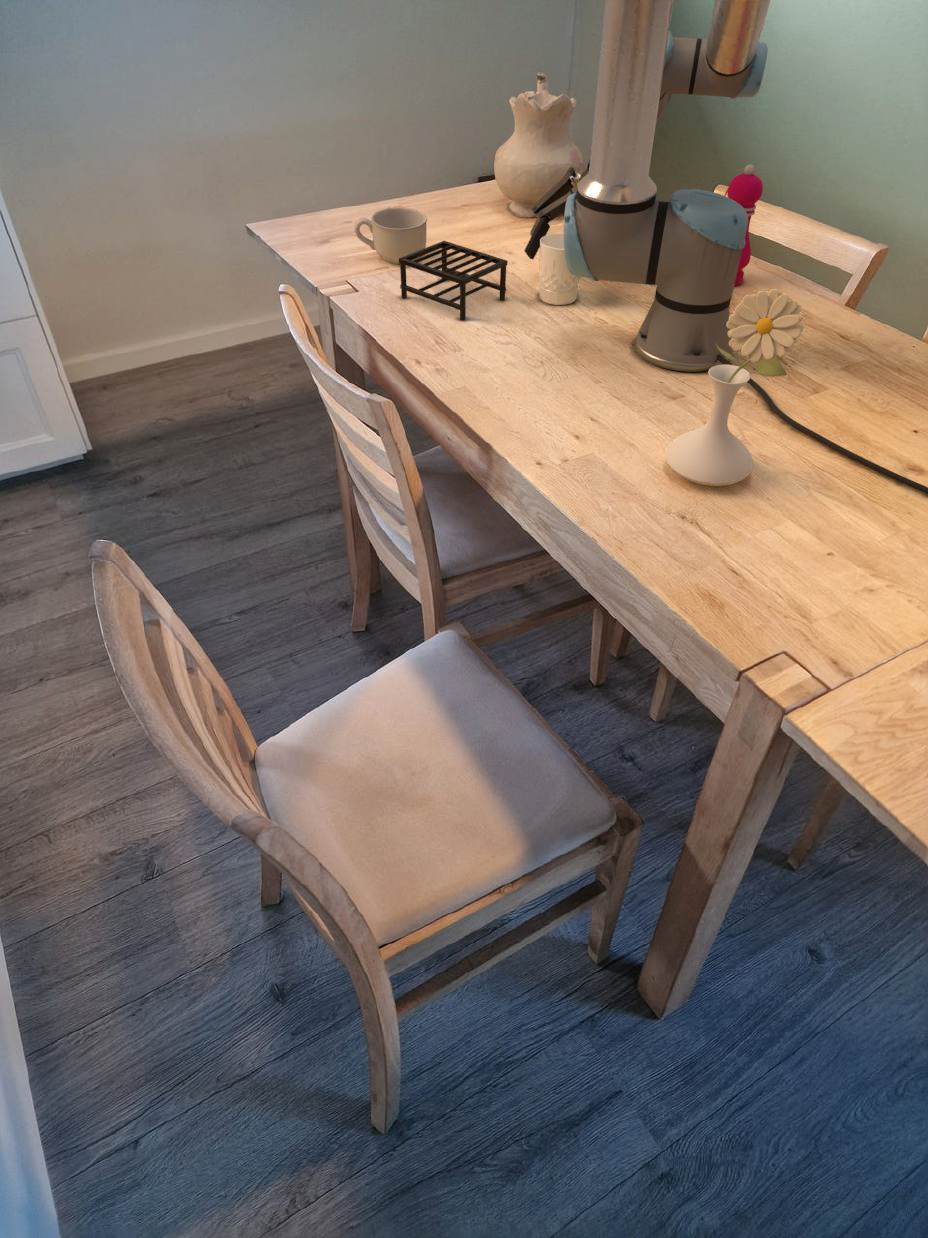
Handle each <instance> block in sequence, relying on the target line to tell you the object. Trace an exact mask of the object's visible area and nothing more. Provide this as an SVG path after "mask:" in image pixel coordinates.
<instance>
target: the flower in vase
mask: <svg viewBox="0 0 928 1238" xmlns="http://www.w3.org/2000/svg"><path fill="white" fill-rule="evenodd" d="M734 308H735V309H734V310H733V311H732V314H729V315H730V316H729V321H728V322H727V324H726V326H727V328H729V329H730V330H729V331H728V337H730V338H732V339H731V340H730V341H729V346H730V347H732V351H734V352H737V354H738V355H739V356H742V357H743V358H746V359H747V360H746V361H745V362H743V363H742V364H740V363H739V361H737V359H736V358H735V356H734V355H732V354H729V353H727V352H725V351H724V350H722V349H720V348H719V347H718V346H717V344H716V343H715V344H716V346H717V348H718V350H719V351H720V352H721V353H722V354H723V355H724V356H726V357H727V358H728V359H729V360H730V361H731V362H733V363H735V364H736V365H734V364H733V365H716V366H713V367H711V368H710V369H709V370H707V372H708V376H709V378H710V380H711V382H712V386H713V397H712V405H711V410H710V413H709V417H708V419H707V422H706V423H705V424H704V425H703V426H700V427H698V428H697V427H696V428H695V429H692V430H690V431H687V432H683V434H681V435H678V436H677V437H676V438H674V439H672V441H671V442H669V444H668V446H667V447H666V449H665V452H664V458H665V461H666V463H667V465H668V467H669V469H671V471H672V472H674V473H675V474H676V475H677V476H679V477H681V478H682V479H685V480H686V481H689V482H692V483H695V484H699V485H703V486H710V487H723V486H729V485H733V484H737V483H739V482H741V481H743V480H744V479H745V478H747V477H748V476H749V475H750V474H751V473H752V471H753V468H754V460H753V456H752V454H751V451H750V450H749V449H748V448H747V446H746V445H745V444H744V443H743V442H742V441H741V440H740V439H739V438H738V437H737V436H736V435H734V434H733V432H731V431H730V429H729V427H728V420H729V416H730V413H731V408H732V406H733V403H734V400H735V398H736V396H737V394H738V392H739V391H740V390H741V388H742V387H743V386H744V385H745V384H746V383H747V382H748V381H749V380H750V378H752V376H751V374H750V372H749V371H748V370H746V369H745V368H744V367H746V366H747V365H748V364H749V363H751V362H752V363H754V367H755V369H756V371H757V373H758V374H759V375H760V376H763V377H784V376H787V372H786V370H785V368H784V366H783V364H782V362H781V361H780V359H779V358H783V357H785V356H786V354H787V353H788V352H789V351H790V348H792V347H793V346H794V344H796V342H797V339H799V338H800V337H801V335H802V332H803V331H804V329H805V326H804V325H803V324H802V323H801V322H802V321H803V319H804V317H803V315H802V314H801V313H800V312H801V311H802V305H801V304H799V303H798V300H796V299H793V298H792V297H791V296H789V294H787V293H783V292H782V291H780V290H779V289H778V288H772V289H771V290H759V291H758V292H757V293H752V294H746V295H745V296H743V298H742V300H741V301H740V303H739V304H737V305H736V306H735V307H734Z"/></svg>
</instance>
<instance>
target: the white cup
mask: <svg viewBox="0 0 928 1238" xmlns="http://www.w3.org/2000/svg"><path fill="white" fill-rule="evenodd" d="M538 267H539V268H538V282H539V299H540V300H541V301H542V302H544V303H546V304H549V305H554V306H565V305H570V304H572V303H574V302H575V301H576V300H577V295H578V289H579V285H580V279H581V277H576V276H574V275H572V274H571V273H570V272H569V270H568V268H567V265H566V261H565V254H564V232H563V233H562V232H558V233H550V234H549V233H548V234H546V236H543V237H542V238H541V239H540V248H539V266H538Z"/></svg>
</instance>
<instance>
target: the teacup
mask: <svg viewBox="0 0 928 1238" xmlns="http://www.w3.org/2000/svg"><path fill="white" fill-rule="evenodd" d="M427 222H428V216H427V215H426V214H425V213H424V212H422V211H421V210H418V209H415V208H412V207H411V208H410V207H404V206H403V207H402V206H395V207H385V208H382V209H380V210H377V211H375V212H374V213H373V214H372V215H371V218H370V219H369V218H366V217H363V218H360V219H357V221H356V222H355V225H354V233H355V235H356V237H357V238H358V239H359V241H361V242H362V243H364V244H366V245H367V246H369V247H370V249H371V250H373V251H375V252H376V253H377V255H378V256H379V257H381V258H383V260H384V261H386V262H388V263H390V264H393V265H394V264H395V265H400V263H399V258H401V257H404V256H407V255H409V254H412V253H414V252H417V251H419V250H422V249H424V248H427V247H426V246H427ZM364 225H365V226H367V227H368V229H369V231H370V233H371V234H372V239H369V238H368V237H366V236H365V235H364V234H362V232H361V230H360V229H361V227H362V226H364ZM416 259H418V258H416ZM416 259H413V260H411V261H414V260H416Z"/></svg>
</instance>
